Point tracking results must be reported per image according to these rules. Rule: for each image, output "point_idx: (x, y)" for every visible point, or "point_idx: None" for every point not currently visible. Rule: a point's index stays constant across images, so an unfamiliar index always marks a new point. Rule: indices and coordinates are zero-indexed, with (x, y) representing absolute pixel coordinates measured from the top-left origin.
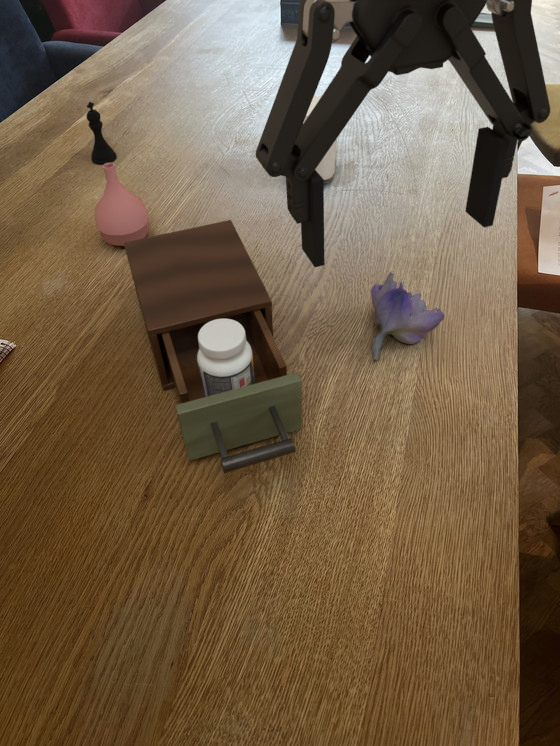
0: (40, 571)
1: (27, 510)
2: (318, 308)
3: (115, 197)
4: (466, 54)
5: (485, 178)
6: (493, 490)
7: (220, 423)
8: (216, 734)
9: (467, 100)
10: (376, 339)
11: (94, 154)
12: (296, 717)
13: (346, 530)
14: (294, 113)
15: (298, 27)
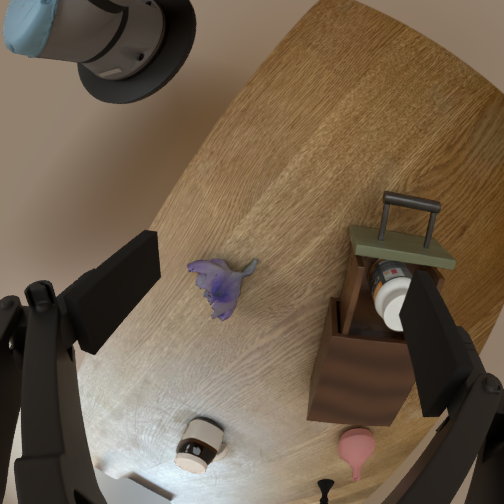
0: None
1: None
2: (269, 328)
3: (360, 459)
4: (54, 498)
5: (122, 280)
6: (240, 111)
7: (420, 246)
8: (474, 71)
9: (89, 412)
10: (250, 272)
11: (331, 485)
12: (436, 52)
13: (360, 130)
14: None
15: None
